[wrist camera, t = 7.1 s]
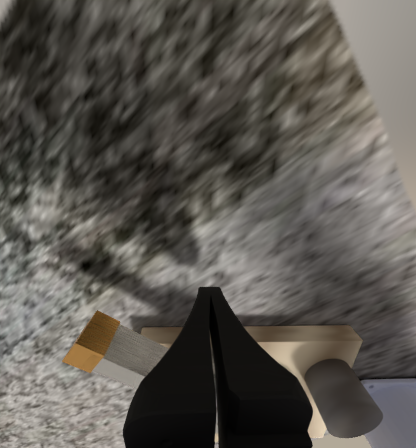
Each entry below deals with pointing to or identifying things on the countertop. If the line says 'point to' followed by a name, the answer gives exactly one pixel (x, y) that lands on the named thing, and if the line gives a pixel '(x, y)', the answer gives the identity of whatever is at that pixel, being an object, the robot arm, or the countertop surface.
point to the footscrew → (116, 352)
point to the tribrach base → (289, 351)
